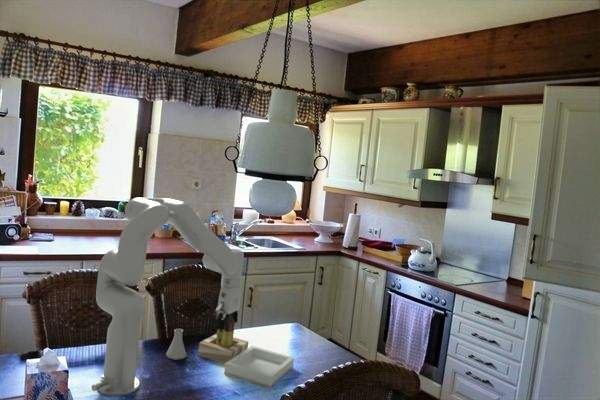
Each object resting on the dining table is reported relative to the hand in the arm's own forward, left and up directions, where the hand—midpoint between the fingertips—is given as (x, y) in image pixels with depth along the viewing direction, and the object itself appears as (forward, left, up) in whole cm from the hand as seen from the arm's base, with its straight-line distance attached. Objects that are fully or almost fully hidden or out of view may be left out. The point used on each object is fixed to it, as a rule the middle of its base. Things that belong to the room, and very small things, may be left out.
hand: (226, 325), depth 191 cm
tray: (-4, -18, -12) cm, 22 cm away
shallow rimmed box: (0, 0, -12) cm, 12 cm away
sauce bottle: (0, 0, -12) cm, 12 cm away
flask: (-12, +13, -12) cm, 21 cm away
